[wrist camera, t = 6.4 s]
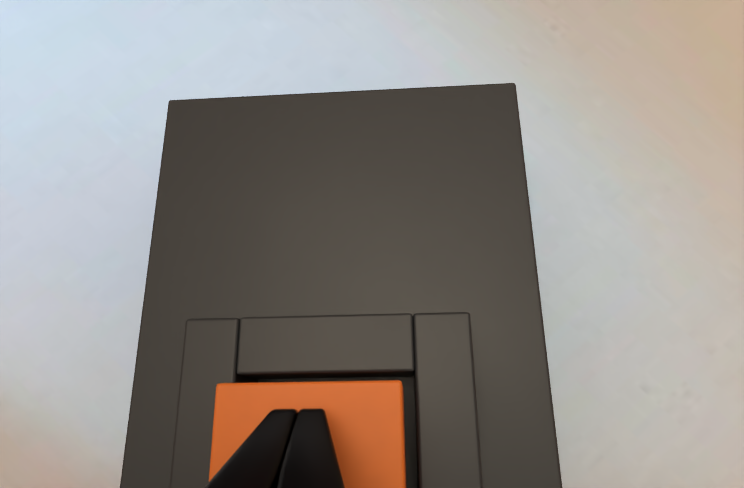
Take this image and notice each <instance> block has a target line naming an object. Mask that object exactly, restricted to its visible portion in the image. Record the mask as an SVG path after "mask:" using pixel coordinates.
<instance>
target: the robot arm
mask: <svg viewBox="0 0 744 488" xmlns="http://www.w3.org/2000/svg"><path fill="white" fill-rule="evenodd" d="M204 488H345V486H344V483H343V479H342V475H341V471H340V467H339V463H338V459H337V455H336V451H335V447H334V443H333V440H332V436H331V432H330V428H329V424H328V420H327V416H326V413H325V410H324V409H322V408H303V409H301V410H299V412H298V410H296V409H274V410H272V411H270V412H269V413H268V414H267V415H266V417H265V418H264V419H263V420H262V421H261V422H260V424H259V425H258V426H257V427H256V428H255V429H254V430H253V432H252V433H251V434H250V435H249V436H248V437H247V439H246V440H245V441H244V442H243V443H242V444H241V446H240V447H239V448H238V449H237V450H236V451H235V452H234V454H233V455H232V456H231V457H230V458H229V459H228V461H227V462H226V463H225V464H224V465H223V466H222V467H221V469H220V470H219V471H218V472H217V473H216V474H215V476H214V477H213V478H212V479H211V480H210V481H209V482H208V484H207V485H206V486H205V487H204Z"/></svg>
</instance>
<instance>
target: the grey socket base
mask: <svg viewBox="0 0 744 488" xmlns="http://www.w3.org/2000/svg"><path fill="white" fill-rule="evenodd" d="M379 380H399V381H401V382H402V385H403V394H404V427H405V460H406V488H562V481H561V473H560V464H559V456H558V447H557V438H556V430H555V421H554V412H553V404H552V395H551V387H550V378H549V369H548V361H547V352H546V343H545V335H544V326H543V318H542V309H541V300H540V292H539V283H538V274H537V266H536V257H535V249H534V240H533V231H532V223H531V214H530V205H529V197H528V188H527V180H526V171H525V162H524V154H523V145H522V137H521V128H520V119H519V111H518V102H517V93H516V85H515V84H514V83H506V84H486V85H466V86H446V87H426V88H407V89H387V90H367V91H347V92H327V93H307V94H287V95H268V96H248V97H228V98H208V99H188V100H170V101H169V105H168V112H167V120H166V128H165V136H164V144H163V152H162V160H161V168H160V176H159V184H158V191H157V199H156V207H155V215H154V223H153V231H152V239H151V247H150V255H149V263H148V270H147V278H146V286H145V294H144V302H143V310H142V318H141V326H140V334H139V342H138V349H137V357H136V365H135V373H134V381H133V389H132V397H131V405H130V413H129V421H128V428H127V436H126V444H125V452H124V460H123V468H122V476H121V484H120V488H204V487H205V486H206V485H207V484H208V482H209V471H210V458H211V446H212V433H213V420H214V407H215V395H216V386H217V384H219V383H259V382H319V381H379Z"/></svg>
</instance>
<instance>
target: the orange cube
mask: <svg viewBox="0 0 744 488" xmlns="http://www.w3.org/2000/svg"><path fill="white" fill-rule="evenodd" d="M303 408H322V409H324V410H325V413H326V416H327V420H328V424H329V428H330V432H331V436H332V440H333V443H334V447H335V451H336V455H337V459H338V463H339V467H340V471H341V475H342V479H343V483H344V486H345V488H406V460H405V427H404V394H403V385H402V382H401V381H399V380H379V381H319V382H259V383H219V384H217V386H216V395H215V407H214V420H213V433H212V446H211V458H210V471H209V481H210V480H211V479H212V478H213V477H214V476H215V474H216V473H217V472H218V471H219V470H220V469H221V467H222V466H223V465H224V464H225V463H226V462H227V461H228V459H229V458H230V457H231V456H232V455H233V454H234V452H235V451H236V450H237V449H238V448H239V447H240V446H241V444H242V443H243V442H244V441H245V440H246V439H247V437H248V436H249V435H250V434H251V433H252V432H253V430H254V429H255V428H256V427H257V426H258V425H259V424H260V422H261V421H262V420H263V419H264V418H265V417H266V415H267V414H268V413H269V412H270V411H272V410H274V409H296V410H298V412H299V410H301V409H303Z"/></svg>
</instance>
